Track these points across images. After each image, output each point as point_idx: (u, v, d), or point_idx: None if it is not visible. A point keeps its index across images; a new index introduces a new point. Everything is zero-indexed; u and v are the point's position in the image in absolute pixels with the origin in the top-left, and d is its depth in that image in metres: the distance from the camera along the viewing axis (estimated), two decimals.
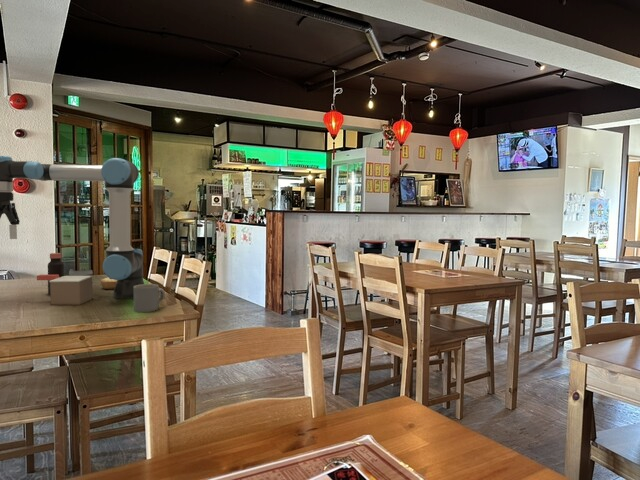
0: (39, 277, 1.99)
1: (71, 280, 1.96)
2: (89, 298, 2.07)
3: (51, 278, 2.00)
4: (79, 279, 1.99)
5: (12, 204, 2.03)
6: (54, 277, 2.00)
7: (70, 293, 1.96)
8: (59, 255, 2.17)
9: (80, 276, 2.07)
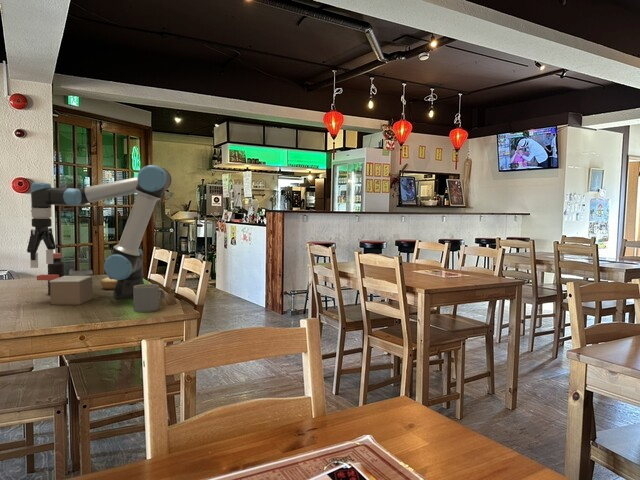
0: (39, 277, 1.99)
1: (71, 280, 1.96)
2: (89, 298, 2.07)
3: (51, 278, 2.00)
4: (79, 279, 1.99)
5: (49, 229, 2.05)
6: (54, 277, 2.00)
7: (70, 293, 1.96)
8: (59, 255, 2.17)
9: (80, 276, 2.07)
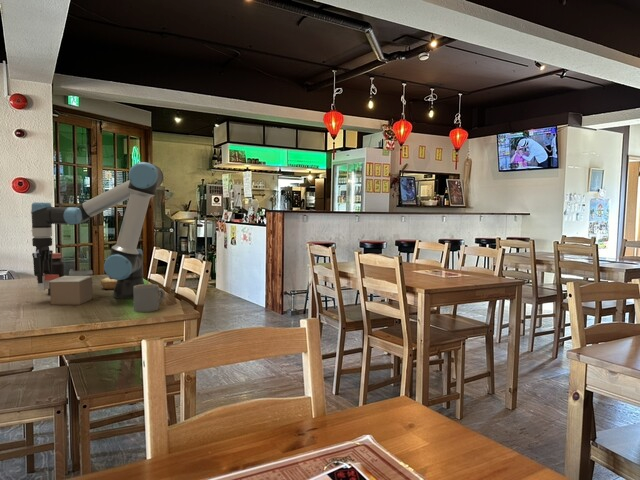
0: None
1: (71, 280, 1.96)
2: (89, 298, 2.07)
3: (51, 278, 2.00)
4: (79, 279, 1.99)
5: (50, 251, 2.05)
6: (54, 277, 2.00)
7: (70, 293, 1.96)
8: (59, 255, 2.17)
9: (80, 276, 2.07)
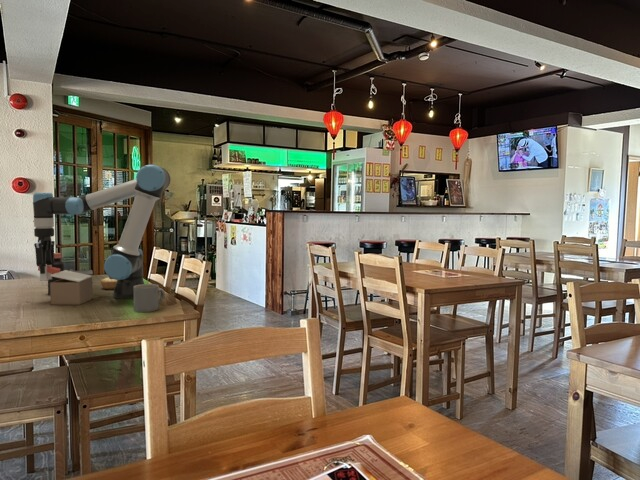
0: None
1: (72, 278, 1.96)
2: (89, 298, 2.07)
3: (52, 271, 1.99)
4: (79, 278, 1.99)
5: (52, 242, 2.05)
6: (55, 271, 2.00)
7: (70, 293, 1.96)
8: (59, 255, 2.17)
9: (81, 274, 2.07)
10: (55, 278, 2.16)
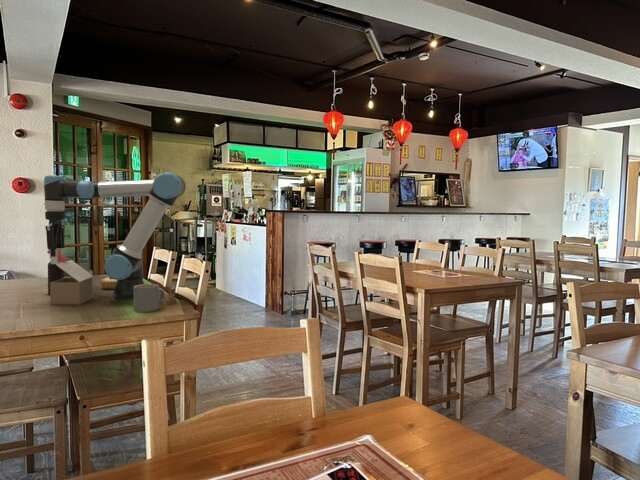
0: None
1: (74, 275, 1.96)
2: (89, 298, 2.07)
3: (59, 259, 1.99)
4: (81, 278, 1.99)
5: (62, 225, 2.05)
6: (62, 260, 2.00)
7: (70, 293, 1.96)
8: None
9: (83, 271, 2.07)
10: (55, 278, 2.16)
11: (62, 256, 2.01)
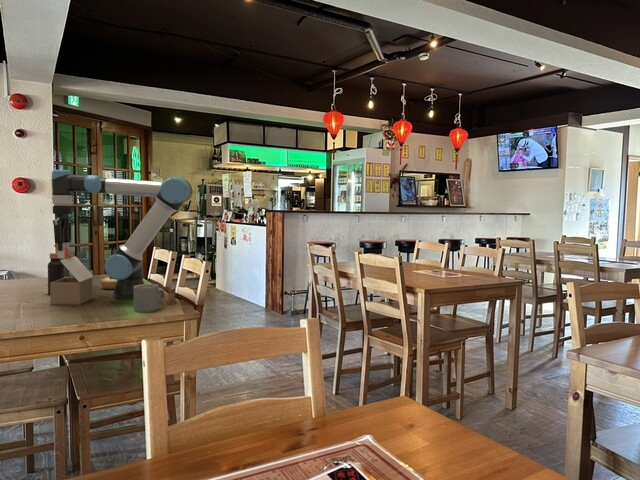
0: (57, 245, 1.99)
1: (75, 274, 1.96)
2: (89, 298, 2.07)
3: None
4: (82, 277, 1.99)
5: (69, 220, 2.05)
6: (67, 256, 2.00)
7: (70, 293, 1.96)
8: None
9: (85, 269, 2.07)
10: (55, 278, 2.16)
11: (68, 252, 2.01)
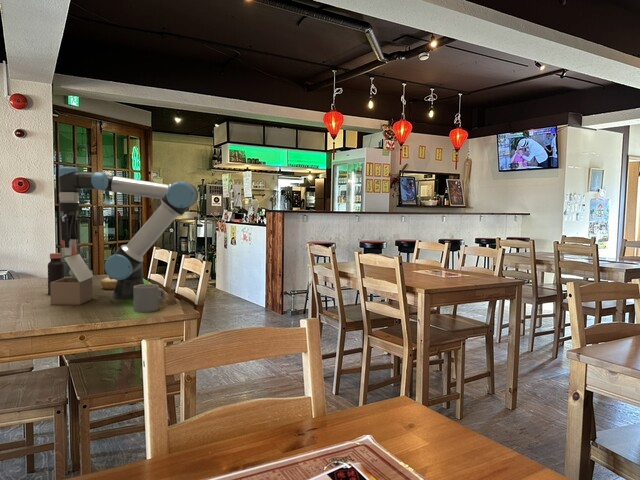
0: (63, 242, 1.99)
1: (77, 274, 1.96)
2: (89, 298, 2.07)
3: None
4: (82, 277, 1.99)
5: (76, 217, 2.06)
6: None
7: (70, 293, 1.96)
8: (59, 255, 2.17)
9: (86, 269, 2.07)
10: (55, 278, 2.16)
11: (72, 250, 2.01)
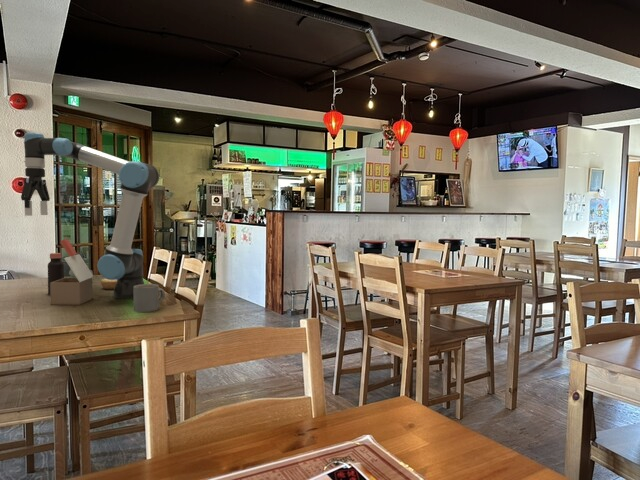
0: (63, 242, 1.99)
1: (77, 274, 1.96)
2: (89, 298, 2.07)
3: (69, 252, 2.00)
4: (82, 277, 1.99)
5: (43, 181, 2.09)
6: (71, 254, 2.00)
7: (70, 293, 1.96)
8: (59, 255, 2.17)
9: (86, 269, 2.07)
10: (55, 278, 2.16)
11: (72, 250, 2.01)
